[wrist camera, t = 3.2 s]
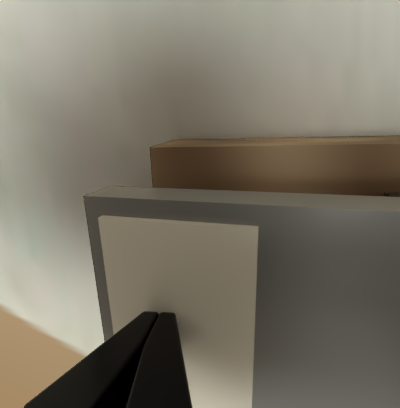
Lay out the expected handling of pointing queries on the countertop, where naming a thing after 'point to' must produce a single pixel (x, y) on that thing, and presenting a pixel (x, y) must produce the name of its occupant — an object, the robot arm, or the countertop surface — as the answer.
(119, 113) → the countertop surface
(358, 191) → the switch base
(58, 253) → the countertop surface
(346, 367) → the grey flat panel
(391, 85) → the countertop surface
